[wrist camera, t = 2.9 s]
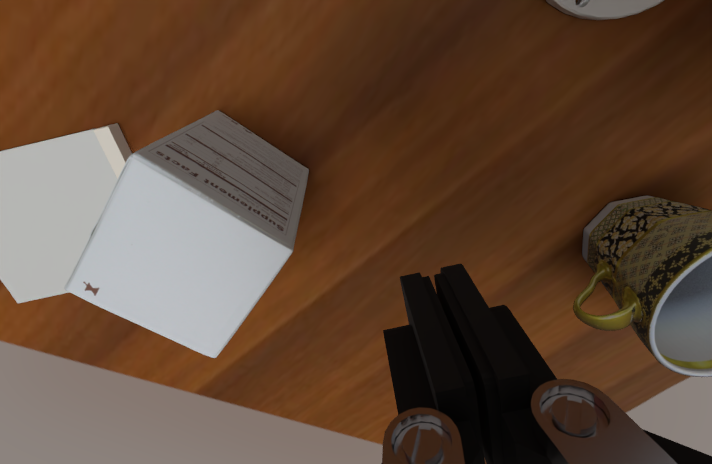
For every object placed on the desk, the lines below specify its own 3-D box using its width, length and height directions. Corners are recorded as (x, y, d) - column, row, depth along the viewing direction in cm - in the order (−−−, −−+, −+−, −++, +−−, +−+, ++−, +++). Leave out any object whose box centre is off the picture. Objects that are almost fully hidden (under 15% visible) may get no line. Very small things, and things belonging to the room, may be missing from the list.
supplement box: (259, 245, 30) (213, 366, 19) (168, 192, 28) (53, 291, 17) (313, 169, 28) (298, 253, 16) (218, 104, 26) (124, 149, 14)
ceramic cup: (698, 161, 29) (864, 213, 20) (677, 275, 33) (805, 361, 24) (521, 195, 29) (603, 262, 20) (522, 304, 34) (591, 399, 24)
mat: (96, 128, 26) (92, 129, 26) (165, 269, 31) (163, 271, 30) (-72, 168, 26) (-78, 170, 26) (21, 300, 31) (17, 303, 31)
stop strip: (117, 123, 26) (107, 126, 25) (184, 264, 30) (178, 273, 29) (103, 126, 26) (92, 129, 25) (171, 267, 31) (165, 275, 29)
